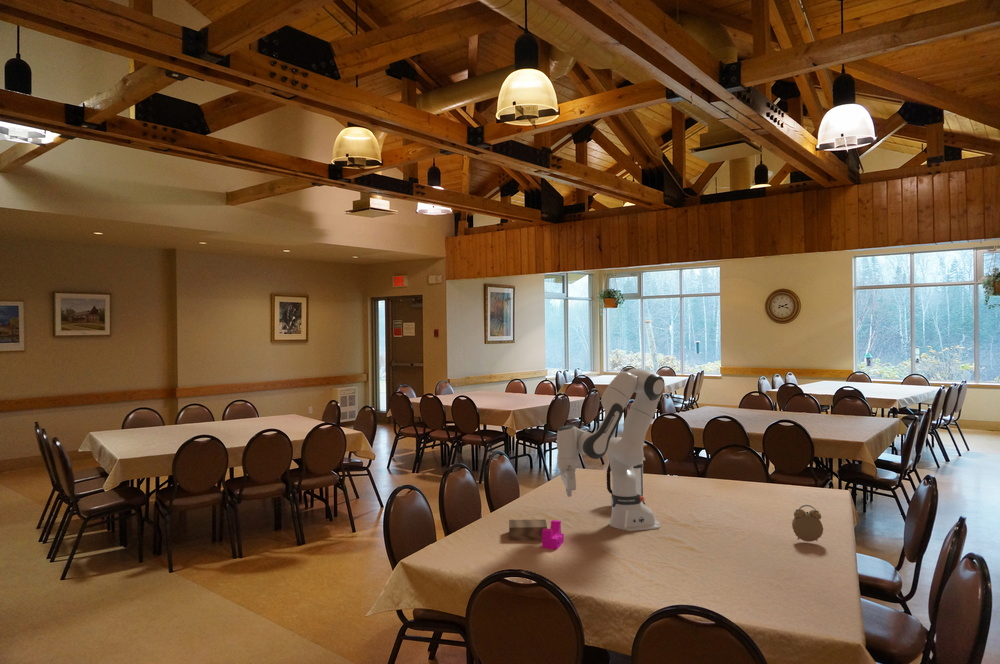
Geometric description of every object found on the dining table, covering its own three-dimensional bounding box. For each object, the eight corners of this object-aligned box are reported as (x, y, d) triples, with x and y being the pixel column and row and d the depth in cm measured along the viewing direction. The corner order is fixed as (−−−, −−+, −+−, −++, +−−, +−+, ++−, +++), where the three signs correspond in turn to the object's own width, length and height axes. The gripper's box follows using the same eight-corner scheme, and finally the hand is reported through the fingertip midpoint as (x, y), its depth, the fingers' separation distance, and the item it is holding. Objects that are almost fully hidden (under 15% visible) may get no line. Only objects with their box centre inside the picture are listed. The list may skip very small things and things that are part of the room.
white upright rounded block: (625, 498, 327) (624, 441, 327) (652, 503, 316) (651, 444, 316) (606, 504, 315) (605, 445, 315) (633, 510, 303) (632, 449, 304)
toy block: (557, 550, 249) (556, 531, 249) (542, 548, 252) (541, 530, 252) (566, 538, 263) (566, 521, 263) (552, 537, 266) (552, 519, 266)
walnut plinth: (545, 533, 272) (545, 519, 272) (547, 541, 261) (547, 527, 261) (509, 533, 272) (509, 519, 272) (509, 541, 261) (509, 527, 261)
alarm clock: (821, 540, 256) (821, 504, 256) (824, 544, 251) (823, 507, 251) (792, 538, 259) (791, 502, 259) (793, 541, 255) (793, 505, 255)
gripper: (578, 468, 255) (580, 502, 255) (571, 458, 275) (572, 489, 275) (563, 469, 255) (564, 502, 255) (557, 459, 275) (558, 490, 275)
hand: (569, 495), depth 265 cm, fingers closed
